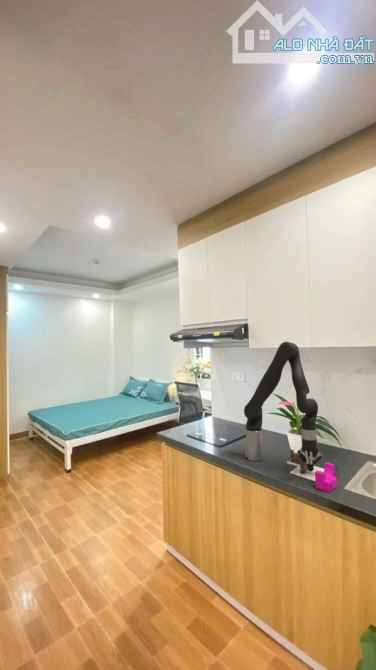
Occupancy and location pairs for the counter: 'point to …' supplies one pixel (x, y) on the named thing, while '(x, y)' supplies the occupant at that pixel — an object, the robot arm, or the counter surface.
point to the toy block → (326, 478)
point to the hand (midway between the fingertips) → (310, 470)
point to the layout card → (307, 473)
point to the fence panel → (303, 466)
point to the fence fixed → (295, 457)
